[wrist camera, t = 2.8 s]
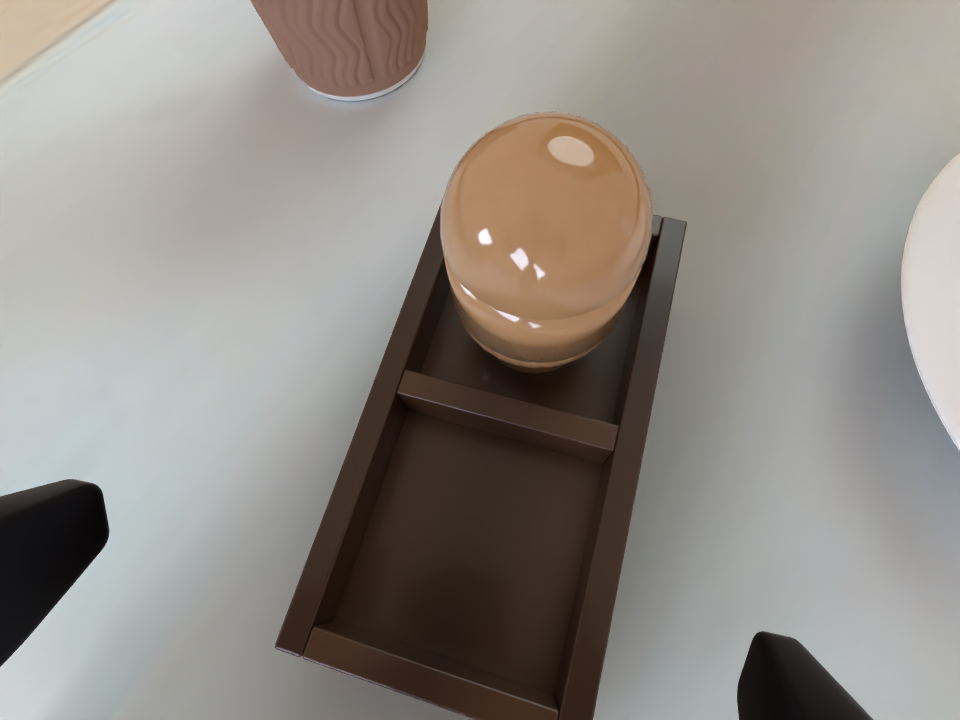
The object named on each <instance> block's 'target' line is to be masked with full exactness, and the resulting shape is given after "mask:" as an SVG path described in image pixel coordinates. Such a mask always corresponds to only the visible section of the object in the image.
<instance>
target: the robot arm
mask: <svg viewBox="0 0 960 720" xmlns="http://www.w3.org/2000/svg"><path fill="white" fill-rule="evenodd" d="M108 537H109V525H108V520H107V514H106V509H105V503H104V498H103V493H102V490H101V489H100V488H99V486H97V485H95V484H93V483H89V482H84V481H80V480H74V479H67V480H62V481H59V482H55V483H51V484H47V485H43V486H39V487H35V488H32V489H28V490H24V491H20V492H16V493H12V494H8V495H4V496H1V497H0V667H1V666H2V665H3V664H4V662H5V661H6V660H7V659H8V658H9V657H10V656H11V655H12V654H13V653H14V652H15V651H16V650H17V649H18V648H19V647H20V646H21V645H22V644H23V642H24V641H25V640H26V639H27V638H28V637H29V636H30V634H31V633H32V632H33V631H34V630H35V629H36V628H37V626H38V625H39V624H40V623H41V622H42V620H43V619H44V618H45V617H46V616H47V615H48V613H49V612H50V611H51V610H52V609H53V607H54V606H55V605H56V604H57V603H58V601H59V600H60V599H61V598H62V597H63V596H64V594H65V593H66V592H67V591H68V590H69V588H70V587H71V586H72V585H73V584H74V583H75V581H76V580H77V579H78V578H79V577H80V575H81V574H82V573H83V572H84V571H85V569H86V568H87V567H88V566H89V565H90V564H91V562H92V561H93V560H94V559H95V558H96V556H97V555H98V554H99V553H100V552H101V550H102V549H103V548H104V546H105V544H106V543H107V540H108ZM737 704H738V713H739V720H873V719H872V718H871V717H870V716H869V715H868V713H867V712H866V711H865V710H864V709H863V708H862V707H861V706H860V705H859V704H858V703H857V702H856V701H855V700H854V699H853V698H852V697H851V696H850V695H849V694H848V692H847V691H846V690H845V689H844V688H843V687H842V686H841V685H840V684H839V683H838V682H837V681H836V680H835V679H834V678H833V677H832V676H831V675H830V674H829V672H828V671H827V670H826V669H825V668H824V667H823V666H822V665H821V664H820V663H819V662H818V661H817V660H816V659H815V658H814V657H813V656H812V655H811V654H810V653H809V651H808V650H807V649H806V648H805V647H804V646H803V645H802V644H801V643H800V642H798V641H797V640H795V639H793V638H791V637H787V636H782V635H778V634H773V633H769V632H763V631H762V632H758V633H757V634H756V635H755V636H754V638H753V640H752V642H751V645H750V648H749V651H748V655H747V658H746V661H745V664H744V667H743V670H742V673H741V676H740V679H739V682H738V690H737Z"/></svg>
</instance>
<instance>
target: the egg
mask: <svg viewBox="0 0 960 720" xmlns="http://www.w3.org/2000/svg"><path fill="white" fill-rule="evenodd" d="M652 226H653V211H652V203H651V196H650V189H649V186H648V184H647V181H646V178H645V176H644V173H643V171H642V169H641V167H640V165H639V163H638V162H637V160H636V159H635V157H634V156H633V154H632V153H631V151H630V150H629V148H628V147H627V146H626V145H625V144H624V143H623V142H622V141H620V140H619V139H618V138H617V137H616V136H615V135H614V134H612V133H611V132H609V131H608V130H606V129H605V128H603V127H602V126H601V125H599V124H598V123H595V122H593V121H591V120H589V119H586V118H584V117H581V116H577V115H574V114H570V113H563V112H553V111H551V112H535V113H530V114H525V115H521V116H518V117H515V118H513V119H510V120H507V121H505V122H504V123H502V124H500V125H498V126H496V127H495V128H493V129H491V130H489V131H488V132H486V133H485V134H484V135H482V136H481V137H480V138H479V139H478V140H476V141H475V142H474V143H473V144H472V145H471V147H470V148H469V149H468V150H467V152H466V153H465V154H464V155H463V157H462V158H461V159H460V161H459V162H458V163H457V165H456V166H455V168H454V170H453V172H452V174H451V176H450V178H449V180H448V183H447V186H446V190H445V193H444V197H443V201H442V205H441V211H440V236H441V243H442V249H443V254H444V259H445V264H446V269H447V274H448V279H449V284H450V289H451V294H452V298H453V303H454V306H455V309H456V312H457V314H458V316H459V318H460V320H461V322H462V324H463V326H464V328H465V329H466V331H467V332H468V333H469V335H470V336H471V337H472V339H473V340H474V341H475V342H476V343H477V344H479V345H480V346H481V347H482V348H483V349H484V350H485V351H487V352H488V353H490V354H492V355H493V356H495V357H496V358H497V359H498V360H499V361H500V362H501V363H503V364H504V365H506V366H507V367H509V368H511V369H514V370H517V371H520V372H524V373H533V374H537V373H546V372H550V371H553V370H556V369H558V368H560V367H562V366H564V365H565V364H567V363H569V362H572V361H574V360H577V359H579V358H581V357H583V356H585V355H586V354H588V353H589V352H591V351H592V350H594V349H595V348H597V347H598V346H599V345H600V343H601V342H602V341H603V340H604V339H605V338H606V337H607V336H608V335H609V334H610V332H611V331H612V329H613V328H614V326H615V325H616V323H617V322H618V320H619V318H620V316H621V314H622V312H623V310H624V307H625V305H626V303H627V300H628V298H629V296H630V294H631V291H632V289H633V287H634V284H635V282H636V280H637V277H638V275H639V273H640V271H641V268H642V266H643V264H644V261H645V259H646V255H647V252H648V249H649V245H650V241H651V236H652Z"/></svg>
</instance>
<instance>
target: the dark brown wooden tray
mask: <svg viewBox="0 0 960 720" xmlns="http://www.w3.org/2000/svg"><path fill="white" fill-rule="evenodd" d="M442 201H443V199H442ZM441 205H442V202H441ZM441 205H440V207H439V210H438V213H437V215H436V218H435V221H434V223H433V226H432V229H431V231H430V234H429V237H428V239H427V242H426V245H425V247H424V250H423V253H422V255H421V258H420V261H419V263H418V266H417V269H416V271H415V274H414V277H413V279H412V282H411V285H410V287H409V290H408V292H407V295H406V298H405V300H404V303H403V306H402V308H401V311H400V314H399V316H398V319H397V322H396V324H395V327H394V330H393V332H392V335H391V338H390V340H389V343H388V346H387V348H386V351H385V354H384V356H383V359H382V362H381V364H380V367H379V370H378V372H377V375H376V378H375V380H374V383H373V386H372V388H371V391H370V394H369V396H368V399H367V402H366V404H365V407H364V409H363V412H362V415H361V417H360V420H359V423H358V425H357V428H356V431H355V433H354V436H353V439H352V441H351V444H350V447H349V449H348V452H347V455H346V457H345V460H344V463H343V465H342V468H341V471H340V473H339V476H338V479H337V481H336V484H335V487H334V489H333V492H332V495H331V497H330V500H329V503H328V505H327V508H326V511H325V513H324V516H323V519H322V521H321V524H320V526H319V529H318V532H317V534H316V537H315V540H314V542H313V545H312V548H311V550H310V553H309V556H308V558H307V561H306V564H305V566H304V569H303V572H302V574H301V577H300V580H299V582H298V585H297V588H296V590H295V593H294V596H293V598H292V601H291V604H290V606H289V609H288V612H287V614H286V617H285V620H284V622H283V625H282V628H281V630H280V633H279V636H278V638H277V641H276V643H275V648H276V649H277V650H280V651H283V652H286V653H289V654H292V655H294V656H297V657H301V656H303V658H304V659H305V660H308V661H311V662H314V663H317V664H320V665H322V666H325V667H328V668H331V669H334V670H337V671H339V672H342V673H345V674H348V675H351V676H354V677H356V678H359V679H362V680H365V681H368V682H371V683H373V684H376V685H379V686H382V687H385V688H388V689H390V690H393V691H396V692H399V693H402V694H405V695H407V696H410V697H413V698H416V699H419V700H422V701H424V702H427V703H430V704H433V705H436V706H439V707H441V708H444V709H447V710H450V711H453V712H456V713H458V714H461V715H464V716H467V717H470V718H473V719H475V720H593V716H594V711H595V705H596V700H597V695H598V689H599V684H600V679H601V674H602V668H603V663H604V658H605V653H606V647H607V642H608V637H609V631H610V626H611V621H612V616H613V610H614V605H615V600H616V594H617V589H618V584H619V579H620V573H621V568H622V563H623V558H624V552H625V547H626V542H627V536H628V531H629V526H630V521H631V515H632V510H633V505H634V500H635V494H636V489H637V484H638V478H639V473H640V468H641V463H642V457H643V452H644V447H645V441H646V436H647V431H648V426H649V420H650V415H651V410H652V405H653V399H654V394H655V389H656V383H657V378H658V373H659V368H660V362H661V357H662V352H663V347H664V341H665V336H666V331H667V325H668V320H669V315H670V310H671V304H672V299H673V294H674V288H675V283H676V278H677V273H678V267H679V262H680V257H681V252H682V246H683V241H684V236H685V230H686V225H687V222H686V221H681V220H676V219H671V218H666V217H663V218H662V217H661V216H657V215H653V226H652V236H651V241H650V245H649V249H648V252H647V255H646V259H645V261H644V264H643V266H642V268H641V271H640V273H639V275H638V277H637V280H636V282H635V284H634V287H633V289H632V291H631V294H630V296H629V298H628V300H627V303H626V305H625V307H624V310H623V312H622V314H621V316H620V318H619V320H618V322H617V323H616V325H615V326H614V328H613V329H612V331H611V332H610V334H609V335H608V336H607V337H606V338H605V339H604V340H603V341H602V342H601V343H600V345H599V346H598V347H597V348H595V349H594V350H592V351H591V352H589V353H588V354H586V355H585V356H583V357H581V358H579V359H577V360H574V361H572V362H569V363H567V364H565V365H564V366H562V367H560V368H558V369H556V370H553V371H550V372H546V373H537V374H533V373H524V372H520V371H517V370H514V369H511V368H509V367H507V366H506V365H504V364H503V363H501V362H500V361H499V360H498V359H497V358H496V357H495V356H493V355H492V354H490V353H488V352H487V351H485V350H484V349H483V348H482V347H481V346H480V345H479V344H477V343H476V342H475V341H474V340H473V339H472V337H471V336H470V335H469V333H468V332H467V331H466V329H465V328H464V326H463V324H462V322H461V320H460V318H459V316H458V314H457V312H456V309H455V306H454V303H453V298H452V294H451V289H450V284H449V279H448V274H447V269H446V264H445V259H444V254H443V249H442V243H441V236H440V211H441Z"/></svg>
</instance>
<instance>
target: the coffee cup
mask: <svg viewBox="0 0 960 720" xmlns="http://www.w3.org/2000/svg"><path fill="white" fill-rule="evenodd" d="M251 2H252V4H253V6H254V7H255V9H256V11H257V12H258V14H259V16H260V17H261V19H262V21H263V23H264V24H265V26H266V28H267V29H268V31H269V33H270V35H271V36H272V38H273V39H274V41H275V43H276V45H277V47H278V48H279V50H280V52H281V53H282V55H283V57H284V58H285V60H286V61H287V62H288V64H289V65H290V67H291V68H293V69H294V71H295V72H296V74H297V75H298V77H299V78H300V79H301V81H302V82H303V83H304V84H305V85H306V86H307V87H308V88H309V89H311V90H312V91H314V92H316V93H318V94H319V95H322V96H325V97H328V98H331V99H336V100H342V101H360V100H366V99H372V98H375V97H379V96H382V95H384V94H386V93H389V92H391V91H393V90H395V89H396V88H398V87H399V86H401V85H402V84H404V83H405V82H406V81H407V80H408V79H409V78H410V77H411V76H412V75H413V74H414V73H415V72H416V70H417V69H418V67H419V66H420V64H421V62H422V59H423V57H424V53H425V45H426V32H427V30H428V10H427V0H251Z"/></svg>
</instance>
